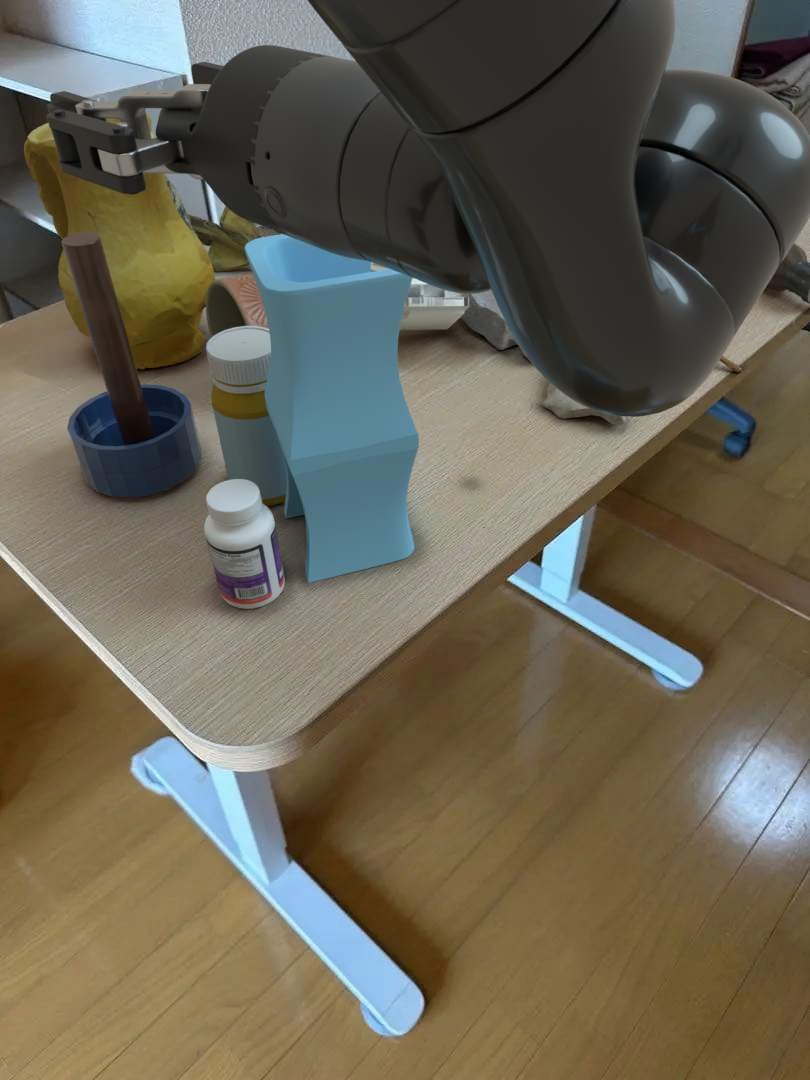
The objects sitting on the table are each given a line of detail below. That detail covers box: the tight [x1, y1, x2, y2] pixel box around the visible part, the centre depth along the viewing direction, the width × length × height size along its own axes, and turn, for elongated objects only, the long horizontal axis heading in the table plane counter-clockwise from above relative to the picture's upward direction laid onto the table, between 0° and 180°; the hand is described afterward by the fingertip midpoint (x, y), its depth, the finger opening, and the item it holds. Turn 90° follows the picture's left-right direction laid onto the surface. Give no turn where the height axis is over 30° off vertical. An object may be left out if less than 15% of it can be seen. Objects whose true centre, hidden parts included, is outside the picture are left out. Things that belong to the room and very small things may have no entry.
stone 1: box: [459, 290, 519, 351], centre depth 99 cm, size 13×7×10 cm
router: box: [399, 278, 479, 488], centre depth 87 cm, size 39×16×8 cm, turn 28°
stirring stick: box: [61, 232, 155, 445], centre depth 72 cm, size 3×3×22 cm
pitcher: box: [23, 112, 217, 370], centre depth 92 cm, size 17×19×25 cm
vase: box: [245, 233, 420, 584], centre depth 63 cm, size 10×10×25 cm
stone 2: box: [542, 382, 628, 426], centre depth 87 cm, size 13×11×3 cm
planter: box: [205, 272, 269, 339], centre depth 89 cm, size 12×12×11 cm
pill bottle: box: [203, 479, 286, 610], centre depth 64 cm, size 5×5×10 cm
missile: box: [188, 206, 262, 272], centre depth 115 cm, size 7×25×7 cm, turn 57°
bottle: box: [205, 326, 287, 507], centre depth 72 cm, size 7×7×15 cm
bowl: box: [66, 383, 202, 498], centre depth 78 cm, size 11×11×6 cm
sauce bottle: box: [765, 243, 810, 304], centre depth 106 cm, size 6×6×20 cm
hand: (132, 98), depth 44 cm, fingers open, 8 cm apart
